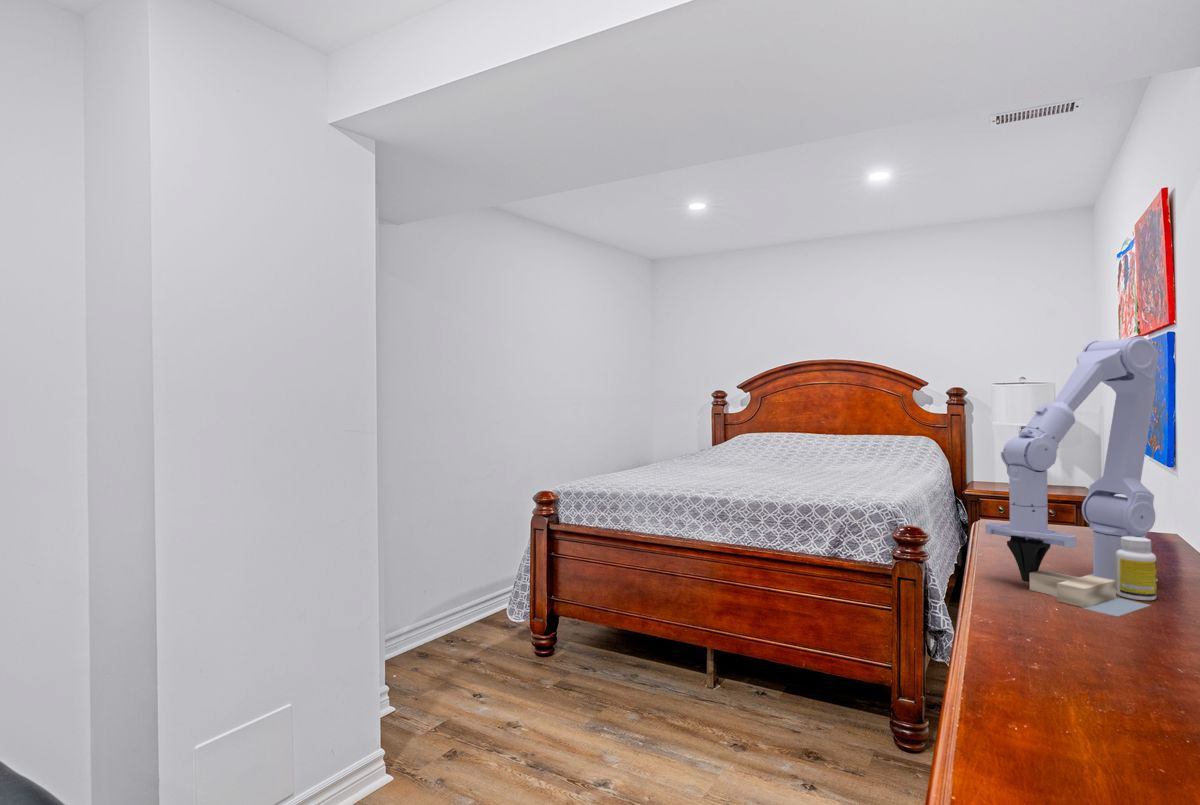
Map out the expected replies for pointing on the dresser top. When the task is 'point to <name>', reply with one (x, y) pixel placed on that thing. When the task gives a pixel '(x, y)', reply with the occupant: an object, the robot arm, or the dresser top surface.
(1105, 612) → the slate t outline
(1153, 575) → the supplement bottle
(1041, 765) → the dresser top surface
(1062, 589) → the maple t block
